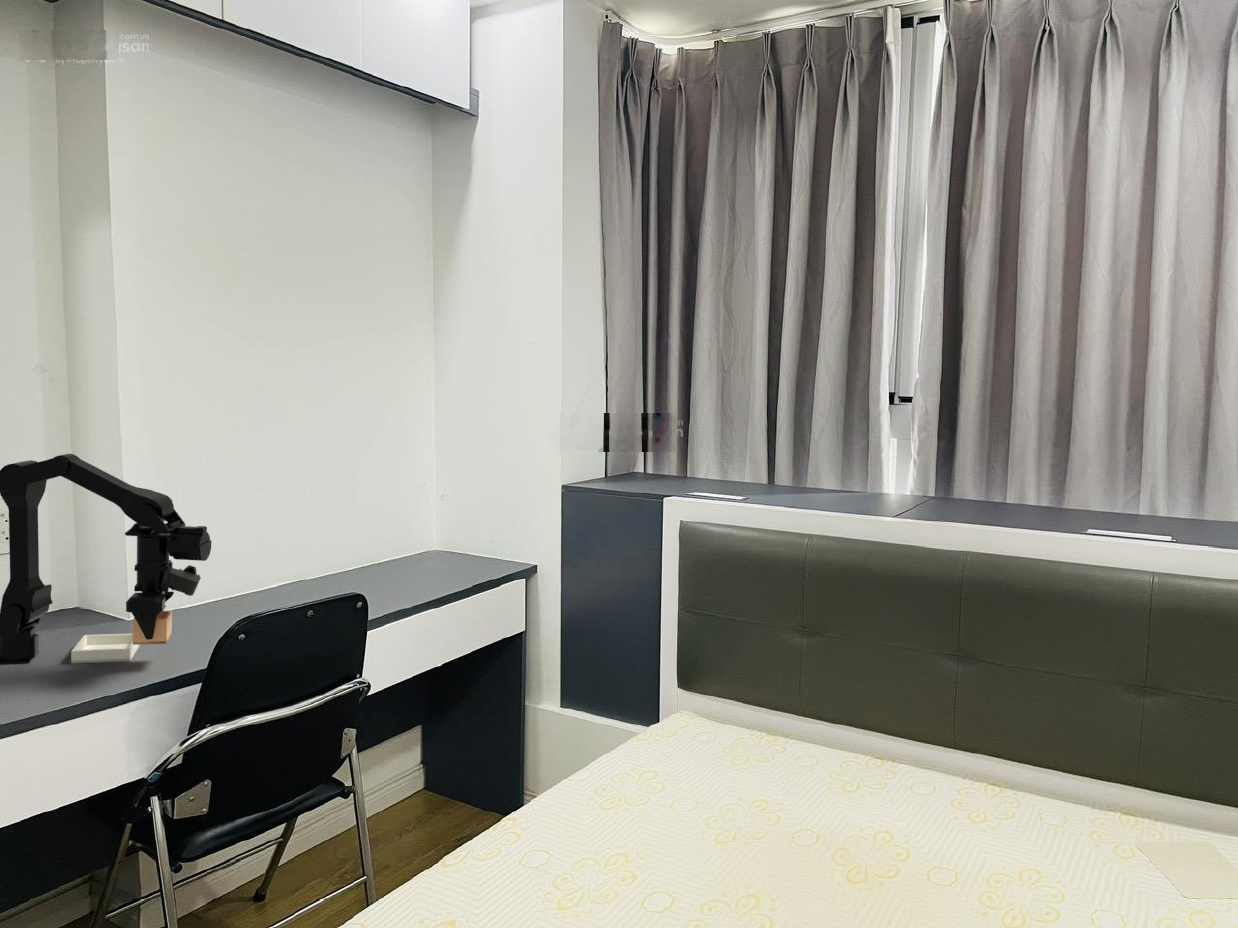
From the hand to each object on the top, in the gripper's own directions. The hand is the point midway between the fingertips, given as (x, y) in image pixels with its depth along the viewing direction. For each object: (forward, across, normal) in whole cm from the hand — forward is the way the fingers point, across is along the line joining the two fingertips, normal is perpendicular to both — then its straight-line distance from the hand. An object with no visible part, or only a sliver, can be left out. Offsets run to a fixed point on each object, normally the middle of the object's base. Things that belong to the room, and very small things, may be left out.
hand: (152, 634), depth 180 cm
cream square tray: (+6, +8, +10) cm, 14 cm away
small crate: (+1, 0, 0) cm, 1 cm away
